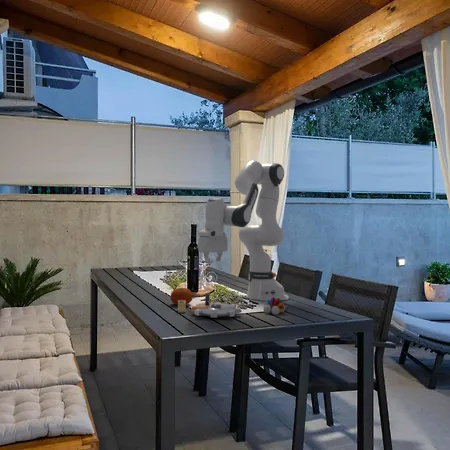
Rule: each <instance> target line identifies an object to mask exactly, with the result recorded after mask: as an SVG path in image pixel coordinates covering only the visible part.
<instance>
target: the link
mask: <svg viewBox="0 0 450 450" xmlns="http://www.w3.org/2000/svg"><path fill="white" fill-rule="evenodd" d="M186 311H187V304H186V300H178V305H177V313H186Z"/></svg>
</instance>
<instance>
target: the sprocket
mask: <svg viewBox="0 0 450 450" xmlns="http://www.w3.org/2000/svg"><path fill="white" fill-rule="evenodd" d="M204 296H205V298H204V299H205V301H204V302H201V303H196V304H195V305H192V306H191V312H192V313H194V315H195V316H199V317H200V316H205V317H210V318H218V317H229V318H231V317H235V316H236V314H241V307H239V306H238V307H237V304H234V303H229V304H228V303H222V302H214V303H213V302H211V303H210V301H211V299H210V297H211V293H210V292H206V293H205V295H204Z"/></svg>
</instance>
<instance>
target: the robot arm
mask: <svg viewBox="0 0 450 450" xmlns="http://www.w3.org/2000/svg"><path fill="white" fill-rule="evenodd" d="M284 169H285V168H284V167H283V166H282V164H280V163H269V162H268V163H266V162H265V163H260V162H259V161H257V160H250V161H248V162H247V163H246V164H245V165H244V166H243V167H242V168H241V169H240V171H239V172H238V174H237V176H236V177H235V181H234V185H235V188H236V189H237V191H238V192H239V193H240V194H242V195H243V196H244V199H243V201H242V203H241V204H239V205H228V204H226V203H225V202H224V198H221V197H212V198H209V199H208V200H207V201H206V205H205V217H204V218H205V223H204V228H202V229H201V230H199V231H198V234H197V235H198V240H197V243H198V244H197V251H198V252H199V253H202V254H203V257H204V262H205V263H210V261H211V258H209V255H210V253H217V256H216V258H215V260H216V262H221V260H222V256H223V253H224V252H227V251H228V247H229V246H228V237H227V234H226V233H225V232H224V230H225V229H224V228H225V226H228V227H236V228H237V227H238V228H240V229H239V231H238V238H239V240H240V242H241V243H243V245H244V246H245V248H246V250H247V253H248V254H249V255H248V256H249V271H248V281H249V282H248V288H247V292H246V295H245V296H246V298H247V299H250V300H254V301H255V300H257V301H262V302H263V301H264V302H266V300H271V298H272V297H274V298H275V300H276V299H277V298H279V299H280V301H288V300H289V299H290V298H289V297H290V296H288V295H287V294H285V289H284V286H283V285H282V284H281V283H280V282H278V281H277V280H276V279H275V278H276V277H277V273H276V272H273V271H271V267H272V266H271V265H272V262H271V261H272V259H271V256H270V254H269V253H267V252H266V251H265V250H264V247H274V246H279V245H281V244H282V243H283V241H284V237H285V233H284V230H283V228H282V227H281V226H280V225H279V224H278V221H277V211H278V205H279V199H280V185H281V183H282V182H283V180H284V178H285V170H284ZM258 185H259V186H261V189H260V192H259V186H258ZM255 204H256V206H255ZM254 207H256V208H255V214H256V215H257V217H258V218H259V219H260V220H261V224H253V223H252V224H249V223H250V222H251V218H252V213H253V209H254Z"/></svg>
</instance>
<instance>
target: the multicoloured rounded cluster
mask: <svg viewBox="0 0 450 450" xmlns="http://www.w3.org/2000/svg"><path fill="white" fill-rule="evenodd" d="M280 302H281V300H280V299H279V298H277V299H276V300H275V298H274V297H272V298H271V300H266V301H265V303H266V304H265V305H264V306H263V312H264V313H265V314H269V315H270V314H273V315H275V316H277V315H279V314H283V313H284V312H285V311H286V306H285V303H284V302H282V303H280Z"/></svg>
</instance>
